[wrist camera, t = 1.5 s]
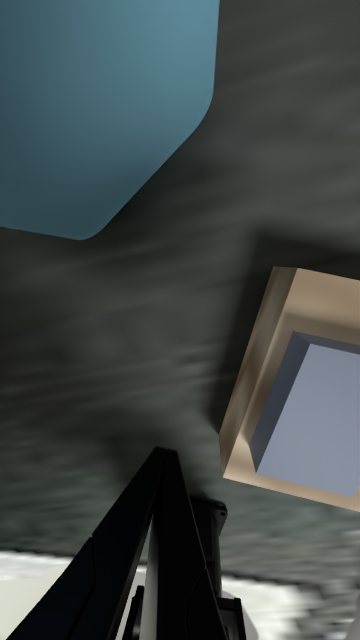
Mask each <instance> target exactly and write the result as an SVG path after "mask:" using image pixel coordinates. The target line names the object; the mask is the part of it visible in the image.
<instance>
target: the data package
mask: <svg viewBox="0 0 360 640" xmlns="http://www.w3.org/2000/svg"><path fill="white" fill-rule="evenodd" d="M218 15H219V0H0V226H1V227H7V228H12V229H18V230H24V231H30V232H35V233H41V234H47V235H52V236H58V237H64V238H70V239H75V240H85V239H88V238H90V237H92V236H94V235H96V234H97V233H98V232H100V231H101V230H102V229H103V228H104V227H105V226H106V225H107V224H108V222H109V221H110V220H111V219H112V218H113V217H114V216H115V215H116V214H117V213H118V212H119V211H120V210H121V209H122V207H123V206H124V205H125V204H126V203H127V202H128V201H129V200H130V199H131V198H132V197H133V196H134V195H135V194H136V192H137V191H138V190H139V189H140V188H141V187H142V186H143V185H144V184H145V183H146V182H147V181H148V180H149V179H150V178H151V176H152V175H153V174H154V173H155V172H156V171H157V170H158V169H159V168H160V167H161V166H162V165H163V164H164V163H165V161H166V160H167V159H168V158H169V157H170V156H171V155H172V154H173V153H174V152H175V151H176V150H177V149H178V148H179V146H180V145H181V144H182V143H183V142H184V141H185V140H186V139H187V138H188V137H189V136H190V135H191V134H192V133H193V131H194V130H195V129H196V128H197V127H198V125H199V124H200V122H201V121H202V119H203V118H204V116H205V114H206V112H207V110H208V108H209V106H210V103H211V100H212V96H213V87H214V73H215V58H216V44H217V29H218Z"/></svg>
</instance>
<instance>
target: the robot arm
mask: <svg viewBox="0 0 360 640" xmlns="http://www.w3.org/2000/svg"><path fill="white" fill-rule="evenodd" d="M152 515H153V517H152ZM227 515H228V513H227V508H226V507H223V506H219V505H216V504H212V503H208V502H204V501H200V500H196V499H192V498H189V496H188V492H187V488H186V484H185V480H184V476H183V472H182V468H181V464H180V461H179V457H178V453H177V451H176V450H172V449H167V450H166V448H164V447H160V446H156V447H155V448H154V450H153V451H152V452H151V454H150V455H149V456H148V458H147V459H146V461H145V462H144V463H143V465H142V466H141V467H140V469H139V470H138V472H137V473H136V474H135V476H134V477H133V478H132V480H131V481H130V483H129V484H128V485H127V487H126V488H125V489H124V491H123V492H122V494H121V495H120V496H119V498H118V499H117V500H116V502H115V503H114V505H113V506H112V507H111V509H110V510H109V511H108V513H107V514H106V516H105V517H104V518H103V520H102V521H101V522H100V524H99V525H98V527H97V528H96V529H95V531H94V532H93V533H92V537H89V539H88V540H87V541H86V543H85V544H84V545H83V547H82V548H81V550H80V551H79V552H78V554H77V555H76V556H75V558H74V559H73V560H72V561H71V563H70V564H69V565H68V567H67V568H66V569H65V571H64V572H63V573H62V575H61V576H60V577H59V578H58V579H57V580H56V582H55V583H54V584H53V585H52V586H51V588H50V589H49V590H48V591H47V593H46V594H45V595H44V596H43V597H42V598H41V600H40V601H39V602H38V603H37V604H36V605H35V607H34V608H33V609H32V610H31V611H30V612H29V614H28V615H27V616H26V617H25V618H24V619H23V620H22V622H21V623H20V624H19V625H18V626H17V627H16V628H15V630H14V631H13V632H12V633H11V634H10V635H9V637H8V638H7V639H6V640H115V639H116V636H117V633H118V629H119V626H120V623H121V619H122V616H123V613H124V609H125V606H126V603H127V599H128V596H129V593H130V589H131V586H132V583H133V579H134V576H135V573H136V569H137V566H138V563H139V559H140V556H141V553H142V550H143V546H144V543H145V540H146V536H147V533H148V530H149V526H150V523H151V519H152V524H151V533H150V542H149V552H148V561H147V571H146V581H145V588H144V586H141V585H138V586H137V590H136V594H135V596H134V597H132V602H131V607H130V611H129V615H128V618H127V622H126V626H125V630H124V634H123V637H122V640H246V633H245V626H244V620H243V612H242V605H241V599H240V598H234V599H228V598H222V582H221V566H220V550H219V535H220V533H221V530H222V528H223V525H224V523H225V520H226V518H227Z"/></svg>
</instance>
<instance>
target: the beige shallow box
mask: <svg viewBox="0 0 360 640" xmlns="http://www.w3.org/2000/svg"><path fill="white" fill-rule="evenodd" d="M293 331H296V332H301V333H305V334H310V335H314V336H319V337H324V338H328V339H333V340H337V341H342V342H346V343H351V344H355V345H360V281H359V280H354V279H349V278H345V277H340V276H335V275H330V274H325V273H320V272H315V271H311V270H306V269H301V268H292V267H277V266H273V269H272V272H271V275H270V278H269V281H268V284H267V287H266V290H265V293H264V296H263V300H262V303H261V306H260V309H259V312H258V315H257V318H256V321H255V324H254V327H253V331H252V334H251V337H250V340H249V343H248V346H247V349H246V352H245V355H244V358H243V362H242V365H241V368H240V371H239V374H238V377H237V380H236V383H235V386H234V389H233V393H232V396H231V399H230V402H229V405H228V408H227V411H226V414H225V417H224V420H223V423H222V427H221V430H220V433H219V444H220V454H221V464H222V474H223V478H227V479H231V480H235V481H239V482H243V483H247V484H251V485H255V486H259V487H263V488H267V489H271V490H275V491H279V492H283V493H287V494H291V495H295V496H299V497H303V498H307V499H311V500H315V501H319V502H323V503H327V504H331V505H334V506H338V507H342V508H346V509H350V510H354V511H358V512H360V487H359V488H358V490H357V492H356V493H355V495H354V496H353V498H352V497H348V496H344V495H340V494H336V493H332V492H328V491H324V490H320V489H316V488H312V487H308V486H304V485H300V484H296V483H292V482H288V481H284V480H280V479H276V478H272V477H268V476H264V475H260V474H256V472H255V468H254V464H253V460H252V456H251V452H250V448H249V445H250V442H251V439H252V437H253V434H254V432H255V429H256V426H257V424H258V421H259V419H260V416H261V413H262V411H263V408H264V406H265V403H266V400H267V398H268V395H269V393H270V390H271V387H272V385H273V382H274V380H275V377H276V374H277V372H278V369H279V367H280V364H281V362H282V359H283V356H284V354H285V351H286V349H287V346H288V343H289V341H290V338H291V336H292V333H293Z"/></svg>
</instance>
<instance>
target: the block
mask: <svg viewBox="0 0 360 640" xmlns="http://www.w3.org/2000/svg"><path fill="white" fill-rule="evenodd" d="M249 448H250V452H251V456H252V460H253V464H254V468H255V472H256V474H260V475H264V476H268V477H272V478H276V479H280V480H284V481H288V482H292V483H296V484H300V485H304V486H308V487H312V488H316V489H320V490H324V491H328V492H332V493H336V494H340V495H344V496H348V497H352V498H353V496H354V495H355V493H356V492H357V490H358V488H359V487H360V345H355V344H351V343H346V342H342V341H337V340H333V339H328V338H324V337H319V336H314V335H310V334H305V333H301V332H296V331H293V333H292V336H291V338H290V341H289V343H288V346H287V349H286V351H285V354H284V356H283V359H282V362H281V364H280V367H279V369H278V372H277V374H276V377H275V380H274V382H273V385H272V387H271V390H270V393H269V395H268V398H267V400H266V403H265V406H264V408H263V411H262V413H261V416H260V419H259V421H258V424H257V426H256V429H255V432H254V434H253V437H252V439H251V442H250V445H249Z"/></svg>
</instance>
